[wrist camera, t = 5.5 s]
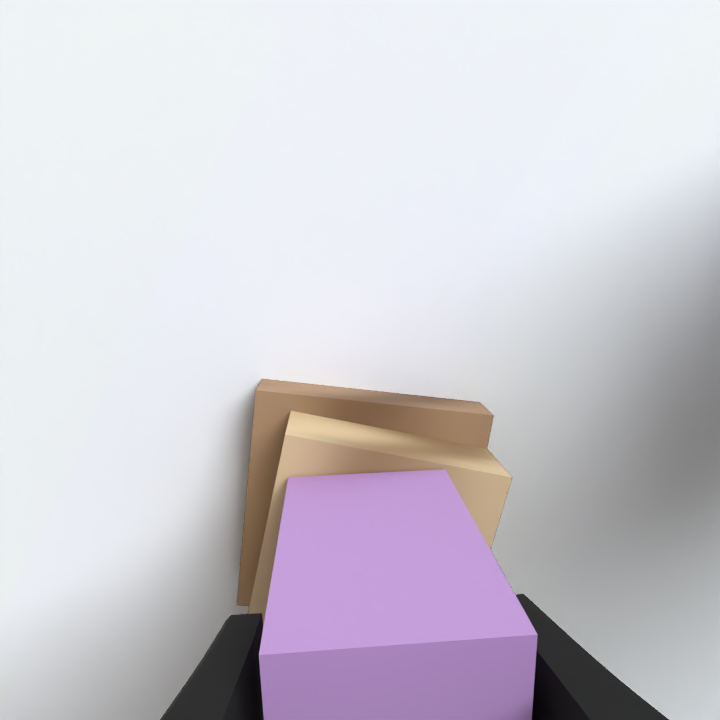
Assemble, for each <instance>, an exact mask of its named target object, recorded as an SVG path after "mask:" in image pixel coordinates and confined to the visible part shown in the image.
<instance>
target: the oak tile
mask: <svg viewBox="0 0 720 720" xmlns="http://www.w3.org/2000/svg"><path fill="white" fill-rule="evenodd" d="M442 469H445V470H446V471H447V473H448V475H449V477H450V478H451V480H452V482H453V484H454V486H455V487H456V489H457V491H458V493H459V495H460V496H461V498H462V500H463V502H464V504H465V505H466V507H467V509H468V511H469V513H470V514H471V516H472V518H473V520H474V521H475V523H476V525H477V527H478V529H479V530H480V532H481V534H482V536H483V538H484V539H485V541H486V543H487V545H488V547H489V548H490V550H491V547H492V543H493V540H494V537H495V533H496V530H497V527H498V523H499V520H500V517H501V513H502V510H503V507H504V504H505V500H506V497H507V494H508V490H509V487H510V484H511V480H512V476H511V475H510V474H509V473H508V472H507V471H506V469H505V468H504V467H503V466H502V465H501V464H500V463H499V461H498V460H497V459H496V458H495V457H494V456H493V455H492V453H491V452H490V451H489V450H488V449H485V448H480V447H475V446H470V445H465V444H460V443H455V442H449V441H444V440H439V439H434V438H429V437H424V436H419V435H413V434H408V433H403V432H398V431H393V430H388V429H383V428H378V427H372V426H367V425H362V424H357V423H352V422H347V421H342V420H337V419H331V418H326V417H321V416H316V415H311V414H306V413H301V412H295V411H291V412H290V416H289V420H288V425H287V429H286V433H285V437H284V442H283V447H282V452H281V457H280V461H279V466H278V471H277V476H276V481H275V486H274V490H273V495H272V500H271V505H270V510H269V515H268V519H267V524H266V529H265V534H264V539H263V543H262V548H261V553H260V558H259V563H258V568H257V572H256V577H255V582H254V587H253V592H252V597H251V601H250V606H249V611H248V614H255V613H262V619H263V626H264V620H265V614H266V608H267V602H268V596H269V590H270V584H271V578H272V572H273V566H274V560H275V554H276V548H277V542H278V536H279V530H280V524H281V518H282V512H283V506H284V500H285V494H286V488H287V482H288V477H302V476H322V475H342V474H362V473H382V472H402V471H422V470H442Z"/></svg>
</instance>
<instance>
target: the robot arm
mask: <svg viewBox="0 0 720 720" xmlns="http://www.w3.org/2000/svg"><path fill="white" fill-rule="evenodd" d="M516 597H517V599H518V600H519V602H520V604H521V606H522V607H523V609H524V611H525V613H526V615H527V616H528V618H529V620H530V622H531V624H532V625H533V627H534V629H535V631H536V633H537V634H538V636H537V651H536V665H535V679H534V693H533V708H532V720H669V719H667V718H666V717H665V716H664V715H662V714H661V713H660V712H658V711H657V710H656V709H655V708H653V707H652V706H651V705H650V704H648V703H647V702H646V701H645V700H643V699H642V698H641V697H640V696H638V695H637V694H636V693H635V692H633V691H632V690H631V689H630V688H629V687H627V686H626V685H625V684H624V683H622V682H621V681H620V680H619V679H618V678H616V677H615V676H614V675H613V674H612V673H611V672H609V671H608V670H607V669H606V668H605V667H604V666H602V665H601V664H600V663H599V662H598V661H597V660H596V659H594V658H593V657H592V656H591V655H590V654H589V653H588V652H586V651H585V650H584V649H583V648H582V647H581V646H580V645H579V644H577V643H576V642H575V641H574V640H573V639H572V638H571V637H570V636H569V635H568V634H566V633H565V632H564V631H563V630H562V629H561V628H560V627H559V626H558V625H557V624H556V623H554V622H553V621H552V620H551V619H550V618H549V617H548V616H547V615H546V614H545V613H544V612H543V611H541V610H540V609H539V608H538V607H537V606H536V605H535V604H534V603H533V602H532V601H531V600H530V599H528V598H527V597H526V596H525V595H524V594H517V595H516ZM262 632H263V619H262V613H255V614H241V615H231V616H230V617H229V618H228V619H227V620H226V622H225V623H224V625H223V627H222V628H221V630H220V632H219V633H218V635H217V636H216V638H215V640H214V641H213V643H212V644H211V646H210V648H209V649H208V651H207V652H206V654H205V655H204V657H203V659H202V660H201V662H200V663H199V665H198V666H197V668H196V669H195V671H194V672H193V674H192V675H191V677H190V678H189V680H188V681H187V682H186V684H185V685H184V687H183V688H182V690H181V691H180V693H179V694H178V695H177V697H176V698H175V700H174V701H173V703H172V704H171V705H170V707H169V708H168V710H167V711H166V712H165V714H164V715H163V717H162V718H161V719H160V720H264V716H263V703H262V690H261V677H260V665H259V651H260V645H261V639H262Z"/></svg>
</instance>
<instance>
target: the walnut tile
mask: <svg viewBox="0 0 720 720" xmlns="http://www.w3.org/2000/svg"><path fill="white" fill-rule="evenodd" d="M291 411H295V412H301V413H306V414H311V415H316V416H321V417H326V418H331V419H337V420H342V421H347V422H352V423H357V424H362V425H367V426H372V427H378V428H383V429H388V430H393V431H398V432H403V433H408V434H413V435H419V436H424V437H429V438H434V439H439V440H444V441H449V442H455V443H460V444H465V445H470V446H475V447H480V448H485V449H487V447H488V442H489V437H490V431H491V426H492V421H493V416H494V415H493V414H492V413H491V412H490V411H488V410H487V409H486V408H485V407H484V406H483V405H482V404H481V403H480V402H473V401H464V400H454V399H445V398H436V397H427V396H417V395H408V394H399V393H390V392H380V391H371V390H362V389H352V388H343V387H334V386H325V385H315V384H306V383H297V382H288V381H278V380H269V379H262V380H261V382H260V384H259V385H258V387H257V389H256V394H255V405H254V416H253V427H252V439H251V450H250V461H249V472H248V484H247V495H246V506H245V517H244V528H243V540H242V551H241V562H240V573H239V585H238V596H237V605H240V606H250V601H251V597H252V592H253V587H254V582H255V577H256V572H257V568H258V563H259V558H260V553H261V548H262V543H263V539H264V534H265V529H266V524H267V519H268V515H269V510H270V505H271V500H272V495H273V490H274V486H275V481H276V476H277V471H278V466H279V461H280V457H281V452H282V447H283V442H284V437H285V433H286V429H287V425H288V420H289V416H290V412H291Z"/></svg>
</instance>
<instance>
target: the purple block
mask: <svg viewBox="0 0 720 720" xmlns="http://www.w3.org/2000/svg"><path fill="white" fill-rule="evenodd" d="M537 636H538V634H537V633H536V631H535V629H534V627H533V625H532V624H531V622H530V620H529V618H528V616H527V615H526V613H525V611H524V609H523V607H522V606H521V604H520V602H519V600H518V599H517V597H516V595H515V593H514V591H513V590H512V588H511V586H510V584H509V582H508V581H507V579H506V577H505V575H504V573H503V572H502V570H501V568H500V566H499V564H498V563H497V561H496V559H495V557H494V556H493V554H492V552H491V550H490V548H489V547H488V545H487V543H486V541H485V539H484V538H483V536H482V534H481V532H480V530H479V529H478V527H477V525H476V523H475V521H474V520H473V518H472V516H471V514H470V513H469V511H468V509H467V507H466V505H465V504H464V502H463V500H462V498H461V496H460V495H459V493H458V491H457V489H456V487H455V486H454V484H453V482H452V480H451V478H450V477H449V475H448V473H447V471H446V470H445V469H442V470H422V471H402V472H382V473H362V474H342V475H322V476H302V477H288V482H287V488H286V494H285V500H284V506H283V512H282V518H281V524H280V530H279V536H278V542H277V548H276V554H275V560H274V566H273V572H272V578H271V584H270V590H269V596H268V602H267V608H266V614H265V620H264V626H263V632H262V639H261V645H260V651H259V665H260V677H261V690H262V703H263V716H264V720H532V708H533V693H534V679H535V665H536V651H537Z"/></svg>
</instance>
